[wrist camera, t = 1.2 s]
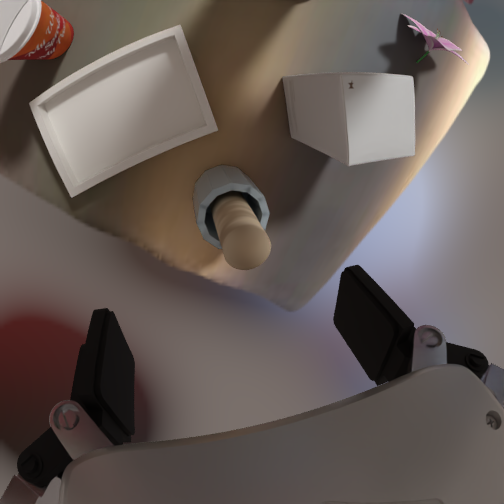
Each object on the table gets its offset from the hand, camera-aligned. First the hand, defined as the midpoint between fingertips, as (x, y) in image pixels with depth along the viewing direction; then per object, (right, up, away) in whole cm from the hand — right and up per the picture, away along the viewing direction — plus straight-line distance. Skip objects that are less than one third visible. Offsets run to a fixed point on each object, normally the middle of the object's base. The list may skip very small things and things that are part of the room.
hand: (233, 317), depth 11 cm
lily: (+28, +37, +21) cm, 50 cm away
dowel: (-3, +10, +27) cm, 29 cm away
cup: (-3, +10, +28) cm, 30 cm away
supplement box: (+9, +23, +24) cm, 35 cm away
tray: (-15, +20, +19) cm, 31 cm away
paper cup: (-24, +29, +11) cm, 39 cm away
